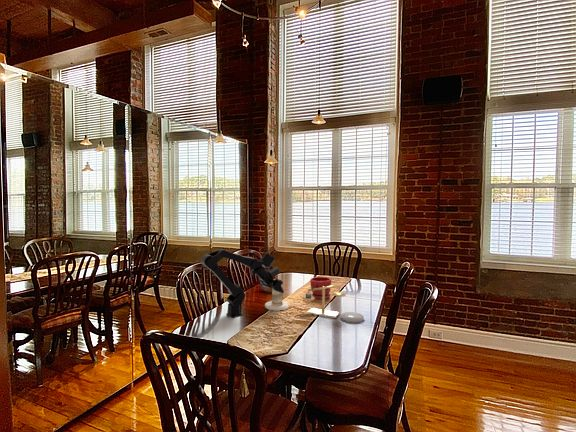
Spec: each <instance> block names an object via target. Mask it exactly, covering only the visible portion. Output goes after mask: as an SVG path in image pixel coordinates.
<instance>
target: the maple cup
mask: <svg viewBox="0 0 576 432" xmlns="http://www.w3.org/2000/svg"><path fill="white" fill-rule="evenodd" d="M281 286H282V288H283V286H284V283H283V284H282V285H281ZM283 289H284V288H283ZM271 301H272V302H271V305H273V306H282V305H283V302H282V301H283V293H281V292H278V291H275V290H273V289H272V292H271Z"/></svg>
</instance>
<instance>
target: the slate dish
mask: <svg viewBox="0 0 576 432" xmlns="http://www.w3.org/2000/svg"><path fill="white" fill-rule="evenodd" d="M340 320H341V321H343V322H345V323H349V324H359V323H362V322H364V315H363V314H361V313H359V312H354V311H346V312H345V311H344V312H342V313H341V314H340Z"/></svg>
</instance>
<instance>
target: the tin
mask: <svg viewBox="0 0 576 432" xmlns="http://www.w3.org/2000/svg"><path fill="white" fill-rule="evenodd" d="M276 279H277V278H275V279H273V280H276ZM260 287H261V289H262V290H263V291H265V292H270V293H272V288H270V287H267V286H265V285H263V284H261V283H260Z"/></svg>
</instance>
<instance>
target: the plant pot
mask: <svg viewBox="0 0 576 432" xmlns="http://www.w3.org/2000/svg"><path fill="white" fill-rule="evenodd" d="M309 283H310V289H314V288H321V287H323V286H325V287H328V286H332V279H331V278H330V277H327V276H315V277H314V276H313V277H311V278H310V282H309ZM331 289H332V288H327V289H325V300H326V299H329V298H330V297H331V293H330V291H331ZM311 292H312V293H311V296H313V297H315V299H316V298H317V300H322V289H320V290H313V291H311Z"/></svg>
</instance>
